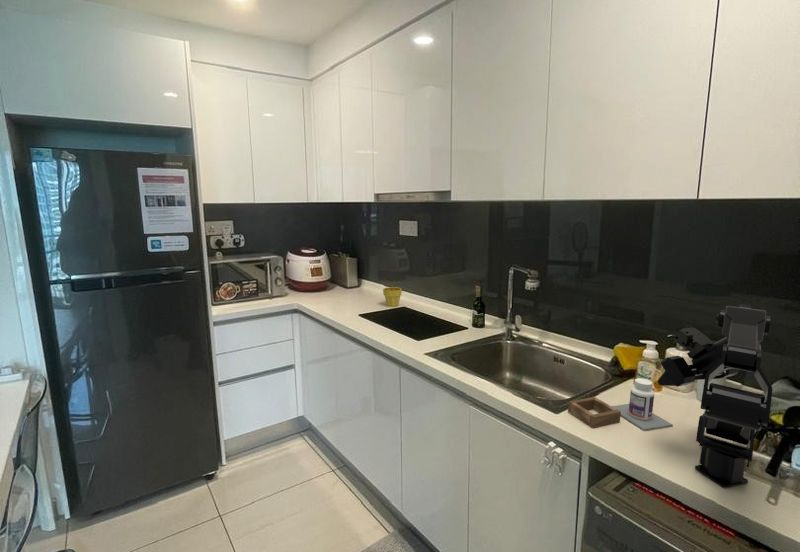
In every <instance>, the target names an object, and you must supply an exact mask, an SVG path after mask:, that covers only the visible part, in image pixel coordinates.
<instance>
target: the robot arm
mask: <svg viewBox="0 0 800 552" xmlns="http://www.w3.org/2000/svg"><path fill="white" fill-rule="evenodd" d="M715 318H716V319H715V322H716V323H717V326H718V328H722V330H721V335H722V336H723V337H724V338H721V339H720V340H719V339H718V340H717V341H716V342H713V341H712V340H711V339H710V338H709V337H708V336H706V335H705V334H704V333H703V332H701V331H700V330H698V329H697V328H695V327H685V328H681V330H678V331H677V332H675V333H674V334H673V335H674V337H673V341H674V342H675V343H676V344H678V345H679V346H680V347H682V348H685V349H686V350H687V351H688V352H686V355H687V356H688V358H689V359H691V363H692V364H689V363H688V362H687V361H686V360H685V358H684V357H682V356H680V355H674V356H673V355H671V356H669V357H668V356H667V357H665V358H663V359H662V360H660V365H661V366H662V368H663V369H664V371H663V373H662V374H661V376H660V377H659V378H658V379H657V384H658V385H659V386H665V387H666V386H668V387H669V386H671V387H682V386H688V385H690V384H692V383H694V382H695V381H697V380H698V381H699V380H700V381H701V380H704V383H703V388H702V394H701V401H700V409H701V410H704V412H703V413H702V415H700V416H699V419H698V424H697V430H696V431H697V432H696V436H695V437H696V438H695V441H696V442H697V443H699V444H698V445H699V447H701V449H700V451H701V452H700V456H699V457H700V458H699V465H697V464H696V465H694V469H695V470H696V471H698V472H699V473H701V474H702V475H704V476H706V477H707V478H709V479H711V480H712V481H713V482H714V483H716V484H718V485H720V487H723V488H730V487H731V488H732V487H734V486H739V485H743V484H748V483H749V480H748V479H747V478H745V477H744V475H745V474H744V472H745V467H746V461H748V462H752V458H753V453H754V444H755V443H754V442H755V435H756V432H760V431H761V430H762V426H765V427H768V425H769V422H770V414H771V406H772V405H771V404H772V396H773V386H772V385H771V383H770V381H769V379H768V378H767V376H766V374H765V373H764V371H763V370H762V368H761V362H762V355H763V354H762V353H763V351H762V346H761V342H763V340H764V335H769V331H770V327H771V316H769V315H767V311H766V310H765V309H757V308H752V305H751V304H745V303H739V306H732V305H727V306H725V310H722V309H721V310H720V312H719V313H718V314H716V317H715ZM739 371H744V372H750V373H753V376H754V378H755V380H756V381H757V383H758V385H759V386H760V388H761V391H763V393H764V394H762V393H757V392H754V391H748V390H744V389H740V388H735V387H731V386H727V385H722V384H717V383H714V382H711V381H712V380H718V379H724V378H728V377H732V376H735V375H737V374H738V373H740V372H739ZM710 435H711V436H710ZM713 436H714V437H713ZM716 437H717V438H716ZM720 438H721V439H720ZM723 439H724V440H723ZM727 440H728V441H727ZM729 441H730V442H729ZM733 442H734V443H733ZM736 443H737V444H736ZM744 445H745V446H744ZM747 446H748V447H747Z"/></svg>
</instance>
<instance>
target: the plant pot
mask: <svg viewBox="0 0 800 552" xmlns="http://www.w3.org/2000/svg"><path fill="white" fill-rule="evenodd" d="M382 293H383V294H382V295H384V298H385V304H386V306H387V307H390V308H395V307H398V306H399V304H400V298H401V296H402V288H401V287H397V286H396V287H395V286H391V287H389V286H388V287H384V288H383V290H382Z"/></svg>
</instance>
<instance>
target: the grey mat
mask: <svg viewBox="0 0 800 552" xmlns="http://www.w3.org/2000/svg"><path fill="white" fill-rule="evenodd" d="M611 406H612V407H613V408H615V409H617V410H619V411H621V415H620V418H623V419H624V420H626V421H627V422H629V423H631V424H632V425H634V426H635V427H637V428H639V429H640V430H642V431H643V432H646V431H647V432H648V431H652V430H660V429H664V428H670V427H671V428H672V427H674V424H673V423H672V422H669V421H668V420H666V419H664V418H662V417H661V416H659V415H657V414H655V413H653V412H652V418H651V419H649V420H640V419H637V418H634V417H632V416H631V415H630V414H629V403H625V404H618V405H611Z"/></svg>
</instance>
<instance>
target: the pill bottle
mask: <svg viewBox="0 0 800 552" xmlns="http://www.w3.org/2000/svg"><path fill="white" fill-rule="evenodd" d="M652 388H653V382H652V381H651V380H649V379H647V378H639V377H638V378H635V379H634V385H633V386H631V387H630V395H629V403H628V404H629V414H630V415H631V416H632V417H634V418H637V419H640V420H649V419H651V418H652V413H653V411H654V409H653V408H654V400H655V392H654V390H653V389H652Z"/></svg>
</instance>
